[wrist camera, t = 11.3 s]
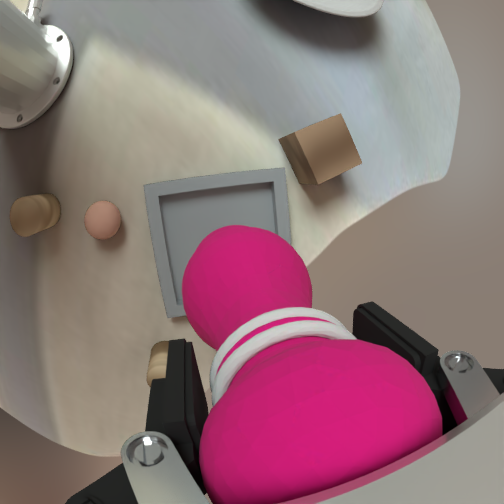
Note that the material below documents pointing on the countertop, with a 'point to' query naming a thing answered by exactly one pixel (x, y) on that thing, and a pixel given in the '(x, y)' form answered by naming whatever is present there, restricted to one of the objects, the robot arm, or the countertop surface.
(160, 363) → the cork
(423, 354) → the robot arm
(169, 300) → the tray
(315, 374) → the pepper mill
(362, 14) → the dish
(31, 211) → the cork
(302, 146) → the walnut block
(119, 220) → the ball
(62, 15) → the countertop surface
